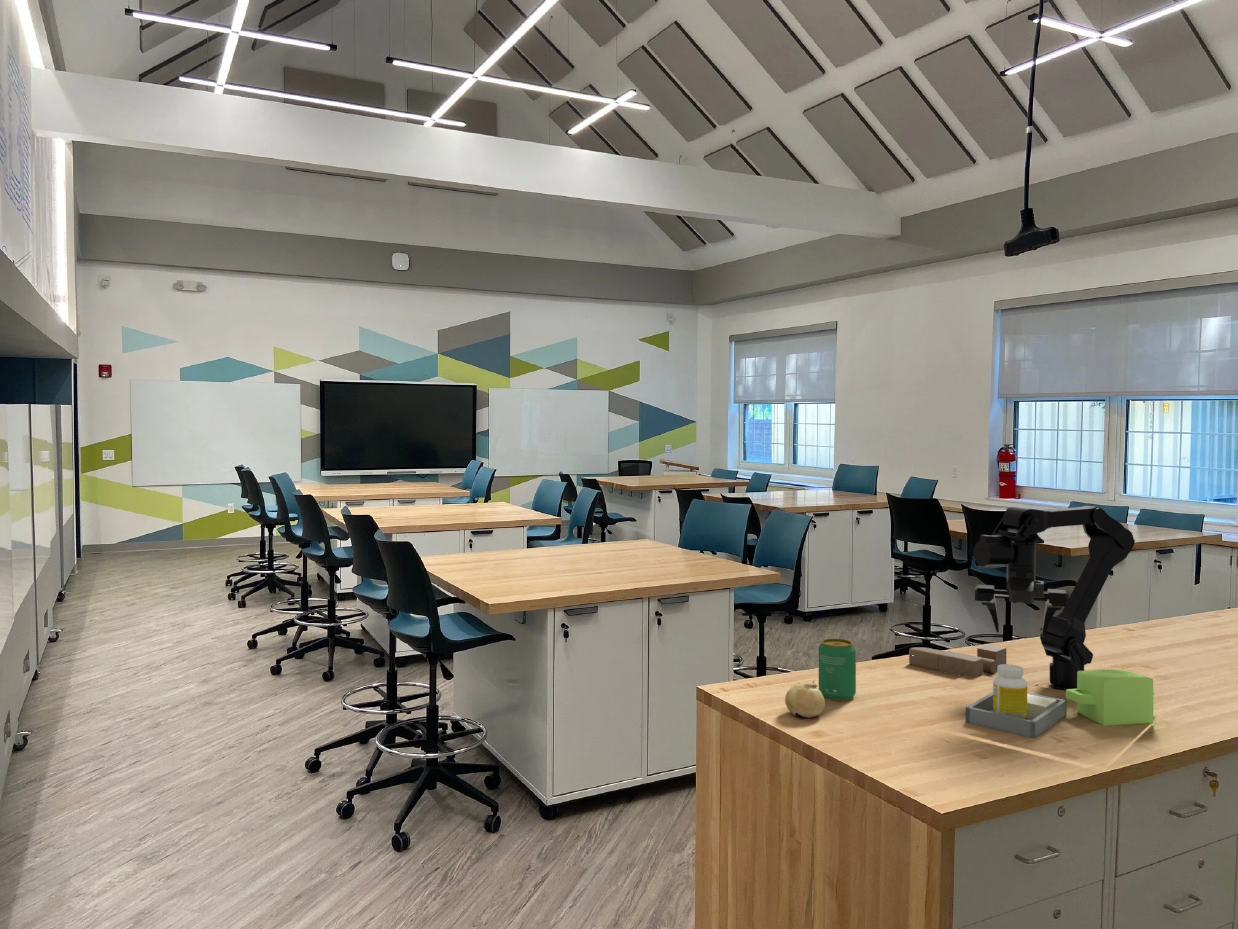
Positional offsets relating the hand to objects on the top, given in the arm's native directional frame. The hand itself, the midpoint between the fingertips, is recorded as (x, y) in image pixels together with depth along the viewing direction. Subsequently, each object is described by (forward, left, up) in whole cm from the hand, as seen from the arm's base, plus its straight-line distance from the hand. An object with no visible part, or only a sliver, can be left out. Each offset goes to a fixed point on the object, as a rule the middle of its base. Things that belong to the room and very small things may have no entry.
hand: (1020, 633), depth 190 cm
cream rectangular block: (-1, +17, -12) cm, 21 cm away
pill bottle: (+2, +24, -13) cm, 27 cm away
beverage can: (+37, +18, -13) cm, 43 cm away
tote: (+1, +21, -13) cm, 25 cm away
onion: (+41, +33, -13) cm, 54 cm away
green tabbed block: (-17, +12, -13) cm, 25 cm away
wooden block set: (+13, -17, -14) cm, 26 cm away
